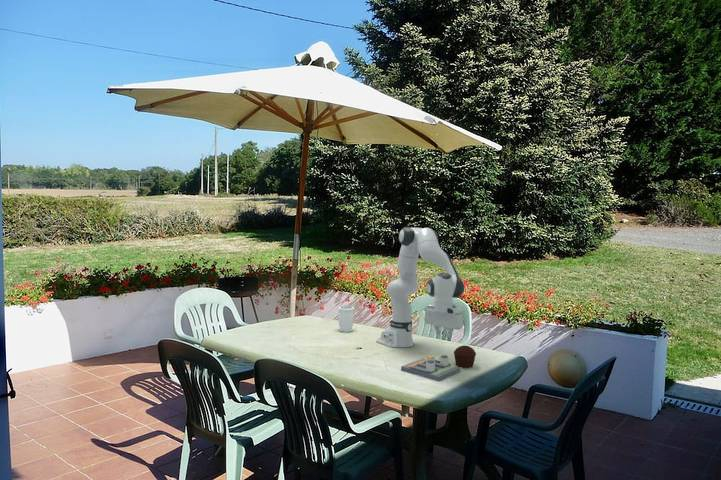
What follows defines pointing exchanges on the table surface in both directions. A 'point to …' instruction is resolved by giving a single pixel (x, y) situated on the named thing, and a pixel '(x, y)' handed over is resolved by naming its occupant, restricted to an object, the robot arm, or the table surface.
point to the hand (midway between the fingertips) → (442, 335)
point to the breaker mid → (430, 358)
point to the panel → (438, 374)
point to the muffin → (464, 356)
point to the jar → (346, 318)
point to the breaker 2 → (444, 360)
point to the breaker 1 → (430, 366)
